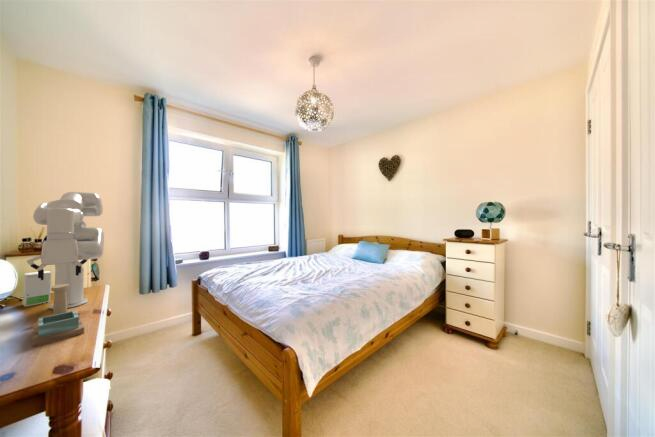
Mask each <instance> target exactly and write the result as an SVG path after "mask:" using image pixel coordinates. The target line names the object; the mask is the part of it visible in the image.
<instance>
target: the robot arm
mask: <svg viewBox="0 0 655 437" xmlns="http://www.w3.org/2000/svg"><path fill="white" fill-rule="evenodd" d="M103 211H104V207H103V202H102V198H101V196H100V195H99V194H97V193H95V192H84V191H83V192H80V191H70V192H66V193H63V195H62V196H61V197H60V198H59V199H57V200H52V201H46V202H43V203H41V204H39V205H38V206H37V207H36V209H35V210H34V212H33V216H32V218H33V221H34V222H35V223H36V224H38V225H41V226H46V240H43V243H42V248H41V254H40V255H36V256H34V257H32V258H30V259H27V260H26V263H27V264H28V265H29V266H30V268H33V269H35V270H37V272H38V278H41V280H44V271H45V270H44V268H45V267H46V266H52V265H54V286H55V285H59V284H69V289H67V290H66V297H67V309H69V308H73V307H78V306H82V305H83V304H86V303H88V301H89V299H88V298H87V297H84V282H85V281H84V279H85V278H84V276H85V275H84V274H85V273H84V272H85V270H84V267H83V266H84V264H85V263H87V261H88V260H94V259H99V258H101V257H102V256H103V255H104V247H105V246H104V245H105V244H104V243H105V232H104V231H103V229H102V228H101V227H87V223H86V222H85V221H84V217H100V216H102V214H103ZM38 260H40V261H41V264H40V265H37V264H36V263H35V262H36V261H38ZM53 305H54V302H53V303H51V304H50V305H49V309H51V310H53Z"/></svg>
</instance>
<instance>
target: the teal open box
mask: <svg viewBox="0 0 655 437" xmlns="http://www.w3.org/2000/svg"><path fill="white" fill-rule="evenodd" d="M37 320H38V321H37V322H38V326H37V327H33V328H32V347H33V348H35V347H37V346H41V345H44V344H45V345H46V344H48V343H52V342H55V341H56V342H57V341H60V340H64V339H66V338H70V337H74V336H75V337H76V336H79V335H82V334H85V327H84V325H83V323H82V320H81V317H79V314H78V312H77V310H76V309H75V310H71V311H67V312H65V313H61V314H56V315H53V314H51V315H47V316H43V317H38V319H37Z"/></svg>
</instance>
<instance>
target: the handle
mask: <svg viewBox="0 0 655 437" xmlns="http://www.w3.org/2000/svg"><path fill="white" fill-rule="evenodd" d="M67 289H69V284H59V285H55V284H54V285H53V286H52V285H51V289H50V291H51V292H54V296H53V303H54V305H53V309H52V312H53V314H52V315H56V314H61V313H65V312H68V308H67V297H66V290H67Z"/></svg>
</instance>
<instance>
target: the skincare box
mask: <svg viewBox="0 0 655 437" xmlns="http://www.w3.org/2000/svg"><path fill="white" fill-rule="evenodd" d="M51 284H52V272H51V271H49V270H46V271H45V270H44V280H41V278H38V271H35V272H25V273H23V292H22V305H23V307H24V308H25V307H31V306H36V305H42V303H43V304H47V303H46V302H48V303H50V302H51V287H52V285H51Z"/></svg>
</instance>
